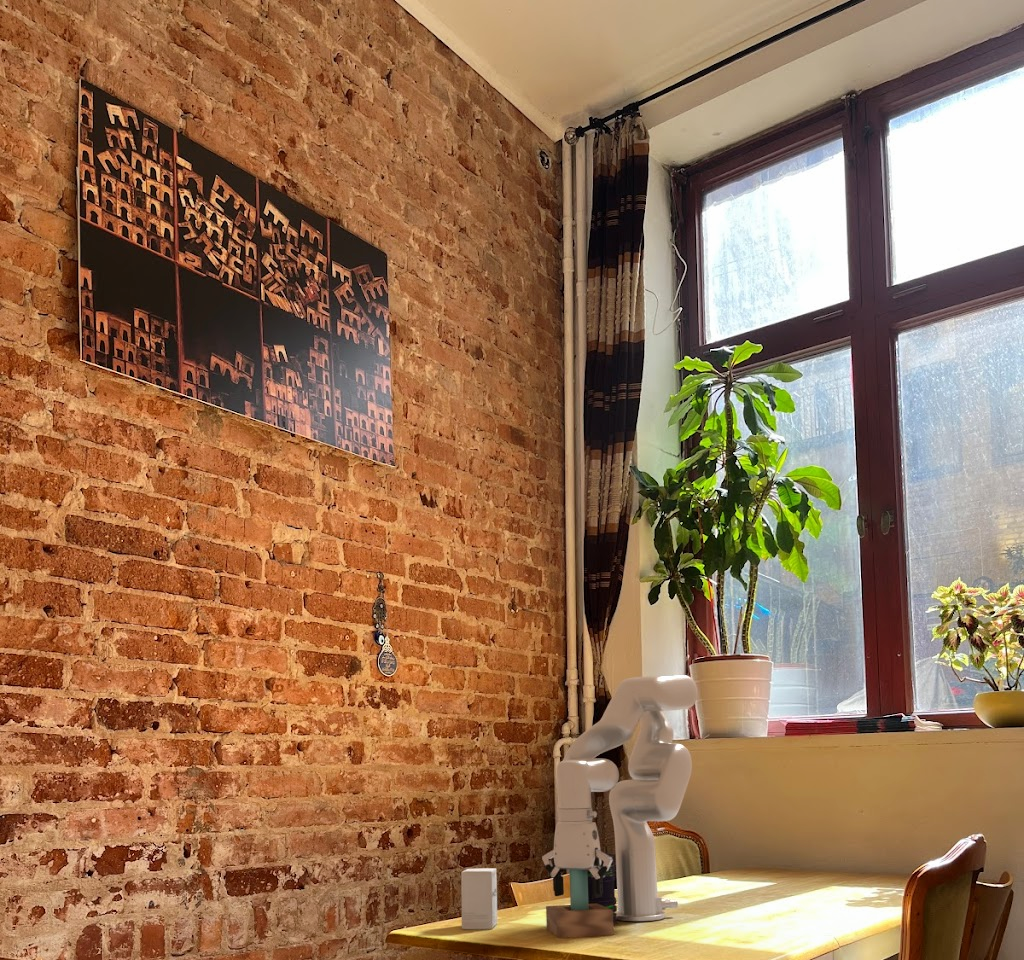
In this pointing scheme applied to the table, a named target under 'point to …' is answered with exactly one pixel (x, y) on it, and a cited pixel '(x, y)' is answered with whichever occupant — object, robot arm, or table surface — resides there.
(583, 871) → the teal peg
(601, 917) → the brown wooden base
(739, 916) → the table surface
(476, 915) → the supplement box
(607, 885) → the storage jar
